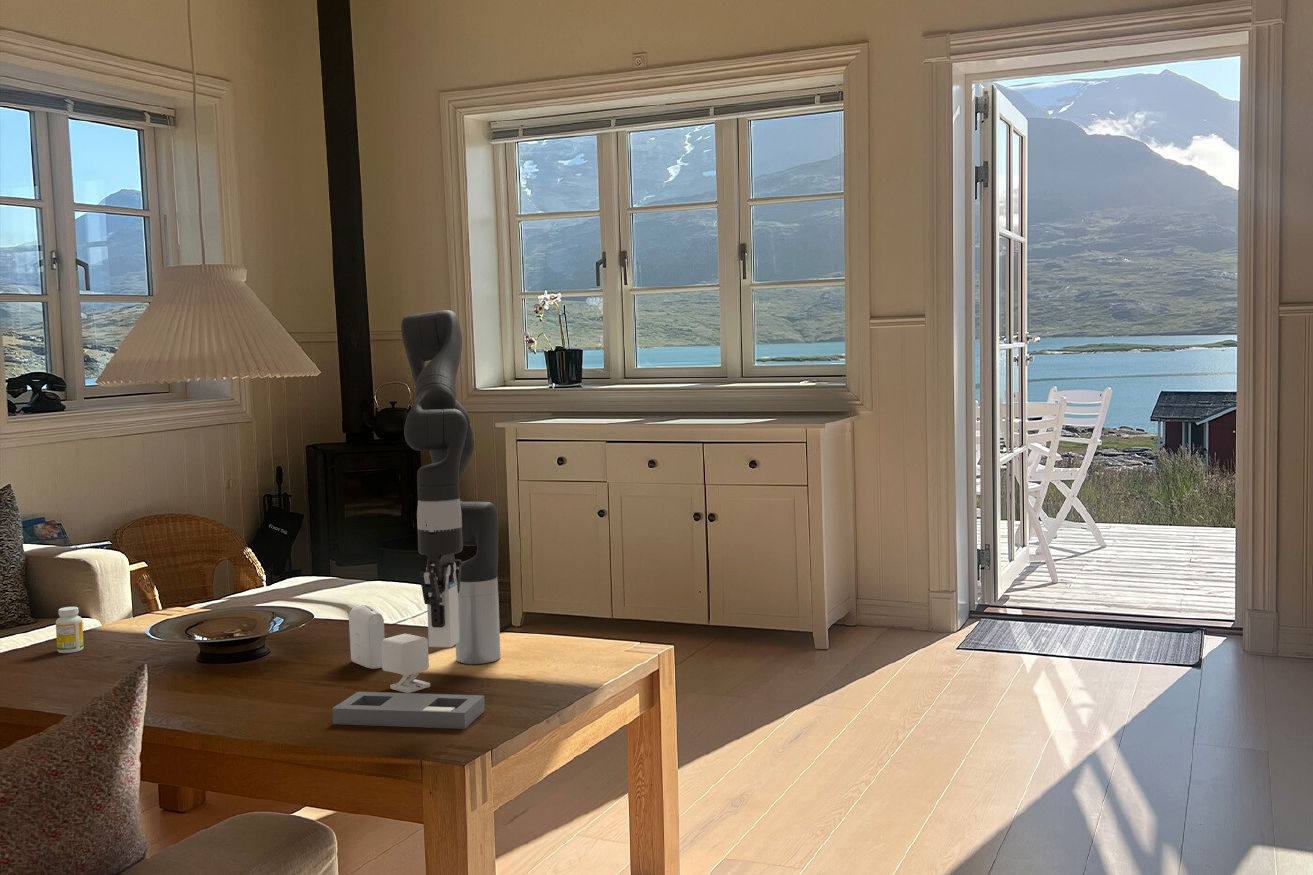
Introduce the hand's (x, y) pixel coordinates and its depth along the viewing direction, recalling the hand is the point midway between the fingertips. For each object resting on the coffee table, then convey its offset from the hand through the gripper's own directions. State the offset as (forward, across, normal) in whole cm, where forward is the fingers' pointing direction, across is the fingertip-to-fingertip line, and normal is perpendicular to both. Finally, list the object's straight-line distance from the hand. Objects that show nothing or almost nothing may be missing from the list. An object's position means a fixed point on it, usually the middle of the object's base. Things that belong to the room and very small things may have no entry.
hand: (443, 623), depth 198 cm
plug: (+4, 0, 0) cm, 4 cm away
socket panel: (+17, 0, -7) cm, 19 cm away
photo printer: (+17, -35, -31) cm, 50 cm away
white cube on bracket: (+18, -18, -15) cm, 29 cm away
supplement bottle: (+17, -40, -105) cm, 114 cm away
